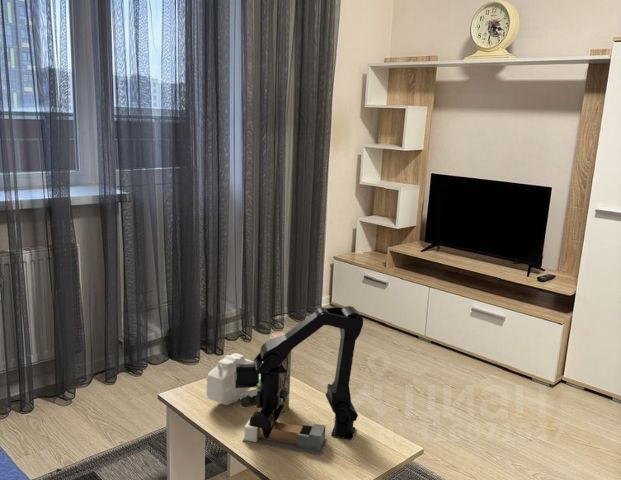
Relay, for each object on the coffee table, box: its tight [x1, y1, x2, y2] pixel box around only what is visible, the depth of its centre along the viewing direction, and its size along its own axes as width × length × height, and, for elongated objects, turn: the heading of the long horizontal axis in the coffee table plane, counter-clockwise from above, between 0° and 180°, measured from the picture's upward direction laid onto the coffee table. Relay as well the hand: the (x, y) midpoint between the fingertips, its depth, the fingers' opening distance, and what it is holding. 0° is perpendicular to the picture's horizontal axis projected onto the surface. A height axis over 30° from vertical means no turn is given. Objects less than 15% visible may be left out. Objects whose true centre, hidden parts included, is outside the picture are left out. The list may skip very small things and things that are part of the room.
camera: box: [206, 353, 254, 406], centre depth 193 cm, size 11×18×16 cm, turn 148°
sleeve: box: [297, 423, 326, 452], centre depth 171 cm, size 6×7×5 cm
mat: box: [242, 438, 327, 457], centre depth 173 cm, size 8×24×1 cm, turn 77°
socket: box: [243, 418, 258, 442], centre depth 175 cm, size 7×4×4 cm, turn 167°
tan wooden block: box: [258, 421, 303, 445], centre depth 173 cm, size 4×15×4 cm, turn 77°
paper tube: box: [269, 332, 292, 413], centre depth 189 cm, size 7×7×25 cm
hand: (268, 433), depth 174 cm, fingers closed on tan wooden block, 4 cm apart
